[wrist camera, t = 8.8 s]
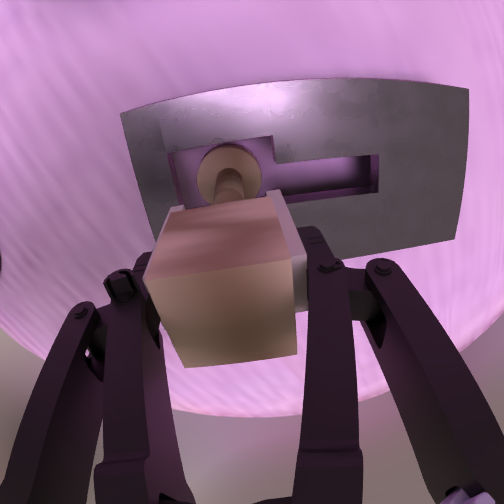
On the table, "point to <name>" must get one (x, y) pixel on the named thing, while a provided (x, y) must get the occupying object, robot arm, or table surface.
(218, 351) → the peg
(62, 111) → the table surface
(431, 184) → the keyhole plate
